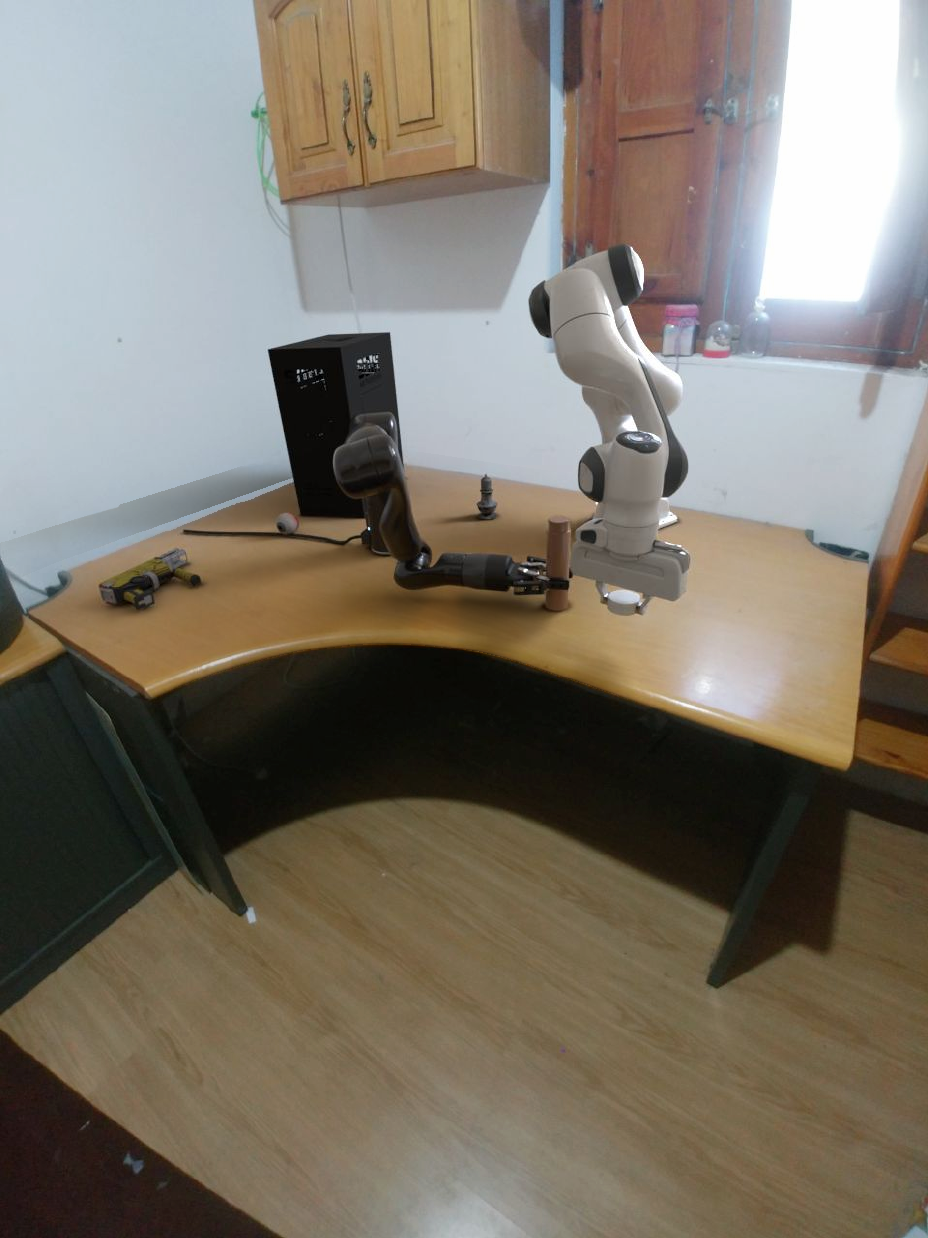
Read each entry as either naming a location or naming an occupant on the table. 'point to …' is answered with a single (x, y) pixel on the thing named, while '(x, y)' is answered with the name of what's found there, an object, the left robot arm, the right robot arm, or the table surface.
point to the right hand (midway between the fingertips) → (622, 608)
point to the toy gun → (146, 580)
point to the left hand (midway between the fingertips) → (570, 578)
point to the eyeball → (287, 523)
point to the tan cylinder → (557, 560)
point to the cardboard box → (330, 409)
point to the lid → (623, 602)
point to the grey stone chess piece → (486, 500)
